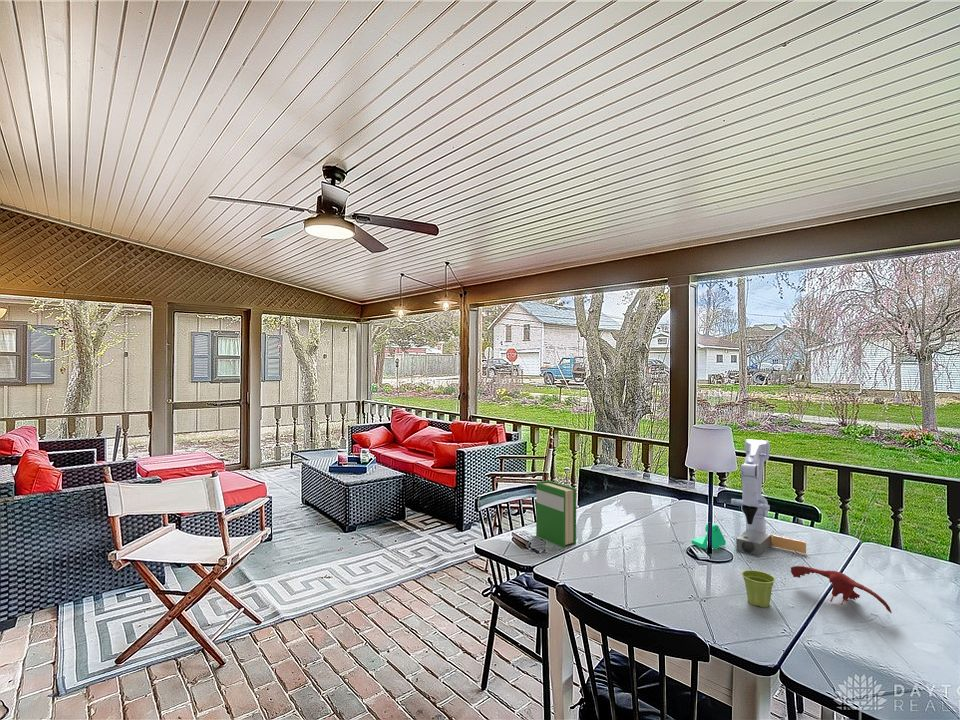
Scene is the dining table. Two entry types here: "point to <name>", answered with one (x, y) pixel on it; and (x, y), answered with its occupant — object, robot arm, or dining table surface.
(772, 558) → the dining table surface
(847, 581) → the red toy dinosaur
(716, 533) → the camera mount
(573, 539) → the hardback book
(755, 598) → the plant pot
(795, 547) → the tan piece
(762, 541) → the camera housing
